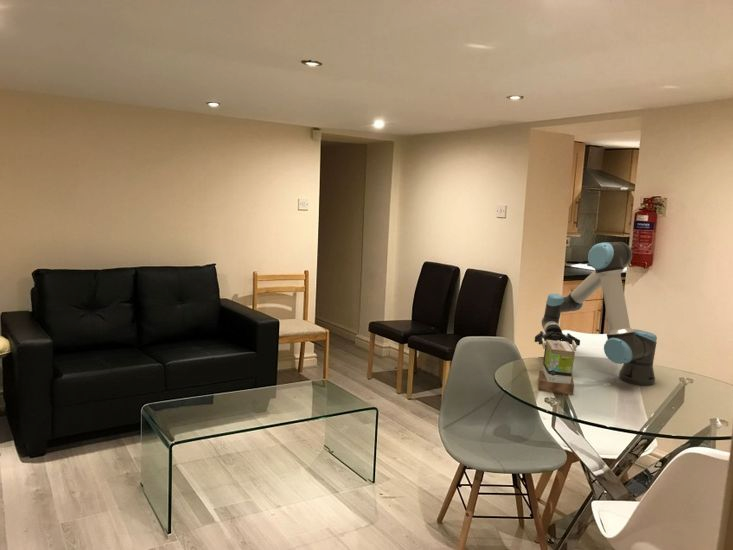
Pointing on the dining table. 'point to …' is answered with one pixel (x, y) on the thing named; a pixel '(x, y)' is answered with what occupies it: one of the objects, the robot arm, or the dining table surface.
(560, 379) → the tea box
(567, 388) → the walnut block
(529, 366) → the dining table surface
